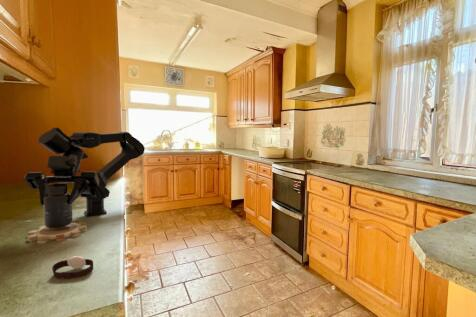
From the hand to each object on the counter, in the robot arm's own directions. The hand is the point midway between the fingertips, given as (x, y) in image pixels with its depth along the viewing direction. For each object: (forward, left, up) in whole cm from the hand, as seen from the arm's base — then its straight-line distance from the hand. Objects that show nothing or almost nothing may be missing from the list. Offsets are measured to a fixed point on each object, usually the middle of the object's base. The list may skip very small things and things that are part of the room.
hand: (55, 203), depth 71 cm
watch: (+27, +1, -10) cm, 29 cm away
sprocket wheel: (-1, 0, -9) cm, 9 cm away
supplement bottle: (-1, +1, -7) cm, 7 cm away
